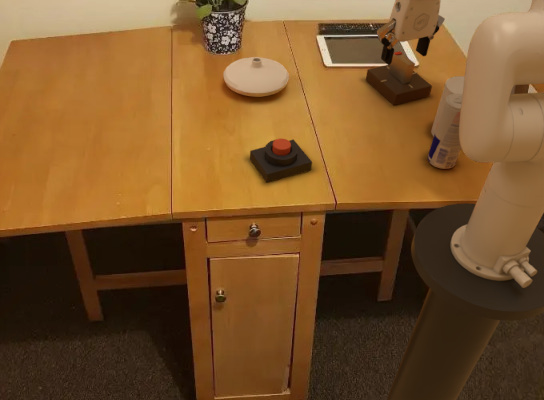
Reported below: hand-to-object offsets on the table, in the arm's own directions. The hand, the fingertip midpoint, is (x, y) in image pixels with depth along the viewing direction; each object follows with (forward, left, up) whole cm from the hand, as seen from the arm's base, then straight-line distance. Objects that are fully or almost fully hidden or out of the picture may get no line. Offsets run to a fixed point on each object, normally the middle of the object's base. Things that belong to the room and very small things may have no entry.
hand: (403, 57), depth 135 cm
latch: (0, 0, -5) cm, 5 cm away
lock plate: (0, 0, -8) cm, 8 cm away
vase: (+14, +31, -8) cm, 35 cm away
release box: (-15, +39, -8) cm, 43 cm away
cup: (-20, 0, -8) cm, 22 cm away
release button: (-15, +39, -5) cm, 42 cm away
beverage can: (-27, +8, -8) cm, 30 cm away
